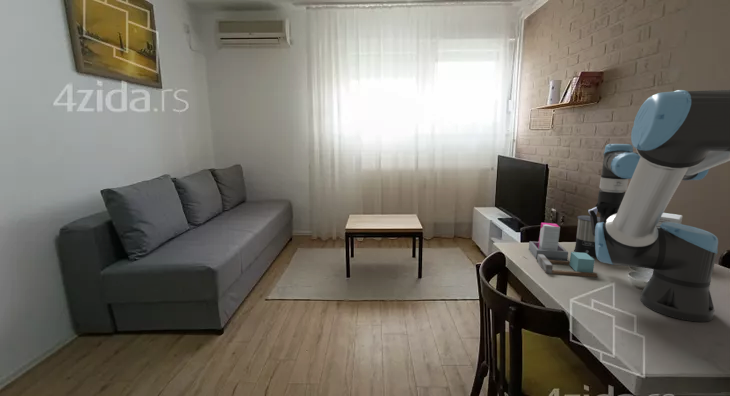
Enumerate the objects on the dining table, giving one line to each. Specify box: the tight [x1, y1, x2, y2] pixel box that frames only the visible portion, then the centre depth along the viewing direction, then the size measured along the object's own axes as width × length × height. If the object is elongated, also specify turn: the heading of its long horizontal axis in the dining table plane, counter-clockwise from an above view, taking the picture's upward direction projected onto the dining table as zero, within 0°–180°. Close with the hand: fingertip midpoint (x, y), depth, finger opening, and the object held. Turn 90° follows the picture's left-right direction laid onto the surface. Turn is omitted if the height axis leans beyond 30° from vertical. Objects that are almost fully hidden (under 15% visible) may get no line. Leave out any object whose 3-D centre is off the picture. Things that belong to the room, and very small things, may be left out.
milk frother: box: [573, 215, 600, 258], centre depth 139 cm, size 14×16×15 cm
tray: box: [528, 240, 569, 261], centre depth 136 cm, size 11×11×4 cm
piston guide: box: [536, 254, 598, 278], centre depth 123 cm, size 11×16×3 cm
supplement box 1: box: [538, 222, 561, 251], centre depth 136 cm, size 6×6×12 cm
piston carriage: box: [568, 251, 596, 273], centre depth 121 cm, size 7×5×5 cm
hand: (602, 256), depth 120 cm, fingers closed
